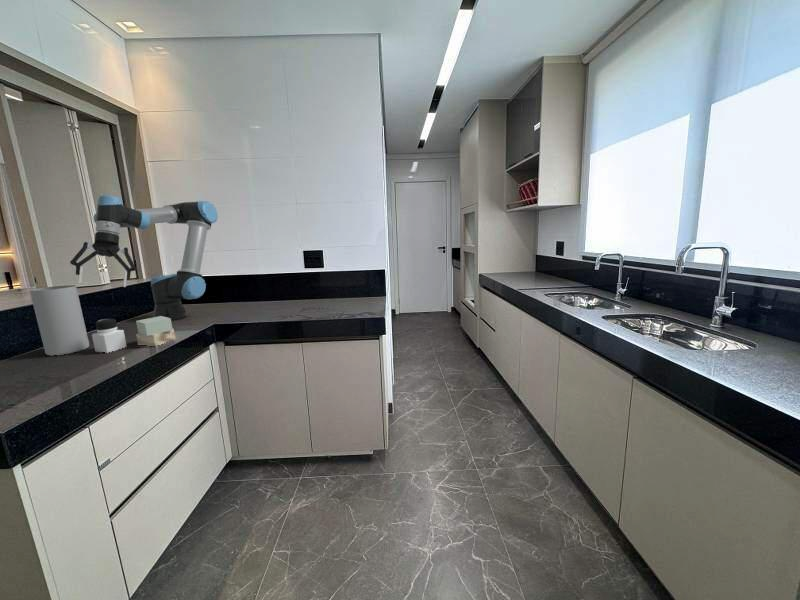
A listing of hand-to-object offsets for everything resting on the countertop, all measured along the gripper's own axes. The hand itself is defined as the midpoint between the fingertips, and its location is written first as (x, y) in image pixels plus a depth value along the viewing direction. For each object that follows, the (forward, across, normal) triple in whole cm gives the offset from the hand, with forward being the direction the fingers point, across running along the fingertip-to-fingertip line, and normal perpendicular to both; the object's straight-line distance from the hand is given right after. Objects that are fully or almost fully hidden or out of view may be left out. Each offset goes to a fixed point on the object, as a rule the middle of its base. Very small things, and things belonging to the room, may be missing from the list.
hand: (103, 285), depth 138 cm
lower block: (+23, +18, -12) cm, 32 cm away
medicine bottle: (+26, +4, -8) cm, 27 cm away
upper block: (+18, +17, -13) cm, 28 cm away
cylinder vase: (+26, -8, +5) cm, 28 cm away
